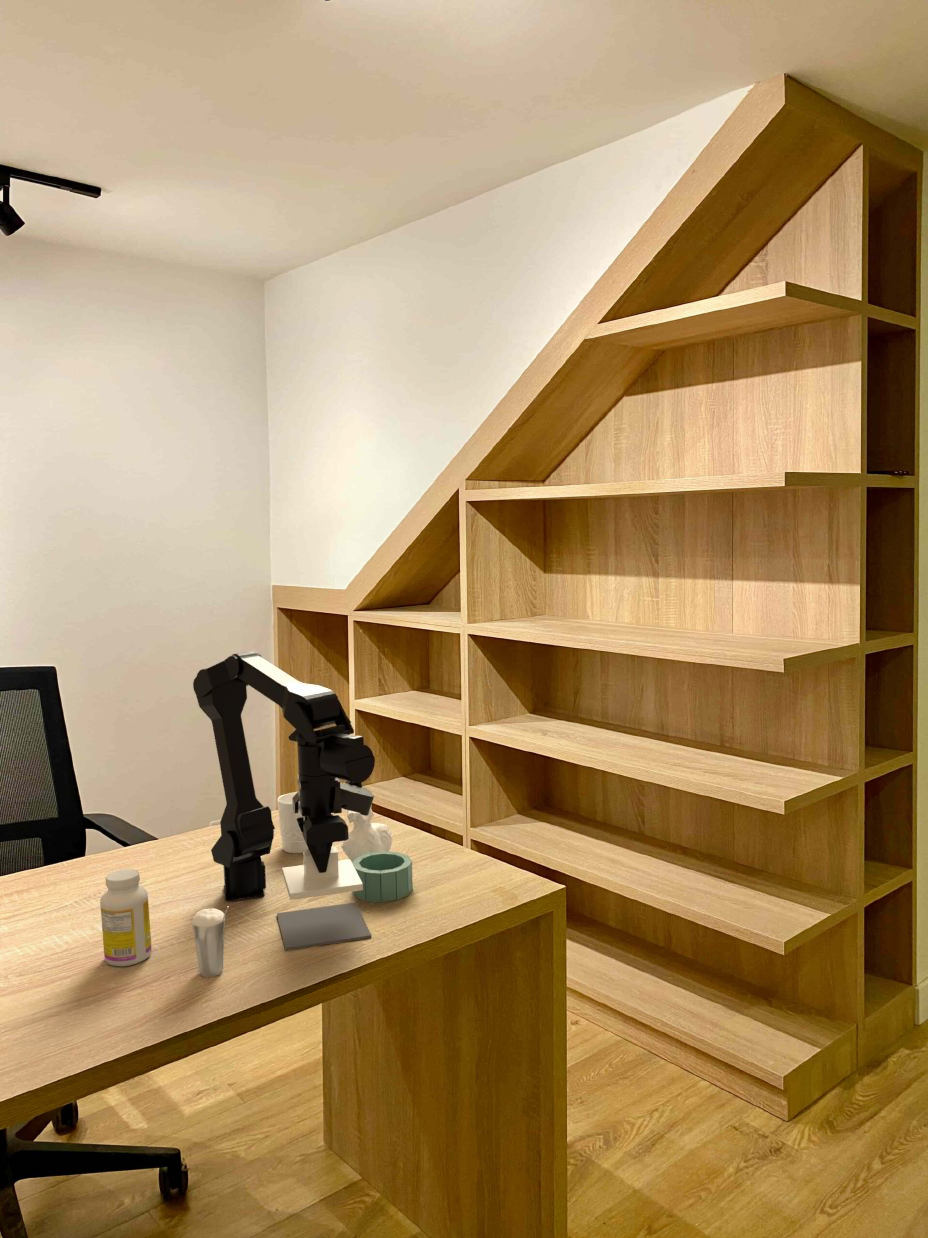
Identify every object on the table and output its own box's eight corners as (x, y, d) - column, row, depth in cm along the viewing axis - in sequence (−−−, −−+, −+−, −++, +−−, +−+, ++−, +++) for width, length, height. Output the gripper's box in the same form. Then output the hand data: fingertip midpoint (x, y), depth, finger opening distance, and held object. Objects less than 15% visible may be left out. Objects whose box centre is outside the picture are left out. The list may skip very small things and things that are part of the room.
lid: (290, 900, 142) (288, 868, 141) (282, 873, 152) (281, 843, 152) (362, 890, 145) (361, 858, 144) (350, 865, 155) (349, 835, 155)
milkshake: (224, 982, 132) (220, 913, 131) (189, 979, 133) (185, 911, 132) (238, 966, 137) (235, 900, 136) (204, 963, 138) (200, 897, 137)
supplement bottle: (136, 943, 145) (130, 862, 143) (160, 955, 141) (155, 872, 139) (95, 960, 140) (89, 876, 138) (119, 973, 136) (114, 887, 134)
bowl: (359, 905, 157) (358, 876, 157) (349, 883, 167) (348, 855, 166) (417, 897, 160) (417, 868, 160) (404, 875, 170) (403, 848, 169)
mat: (285, 950, 141) (285, 948, 141) (276, 915, 154) (276, 913, 154) (371, 937, 145) (371, 935, 145) (356, 904, 158) (355, 902, 158)
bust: (387, 860, 184) (360, 809, 187) (409, 843, 179) (381, 791, 183) (342, 879, 174) (314, 825, 178) (365, 862, 170) (336, 807, 173)
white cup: (328, 844, 186) (326, 795, 185) (301, 857, 180) (299, 806, 178) (298, 838, 190) (296, 789, 189) (270, 850, 184) (268, 800, 183)
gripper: (380, 782, 140) (383, 883, 142) (357, 752, 158) (360, 843, 160) (304, 790, 137) (309, 894, 139) (290, 758, 155) (294, 851, 156)
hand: (321, 868), depth 148 cm, fingers closed on lid, 3 cm apart
